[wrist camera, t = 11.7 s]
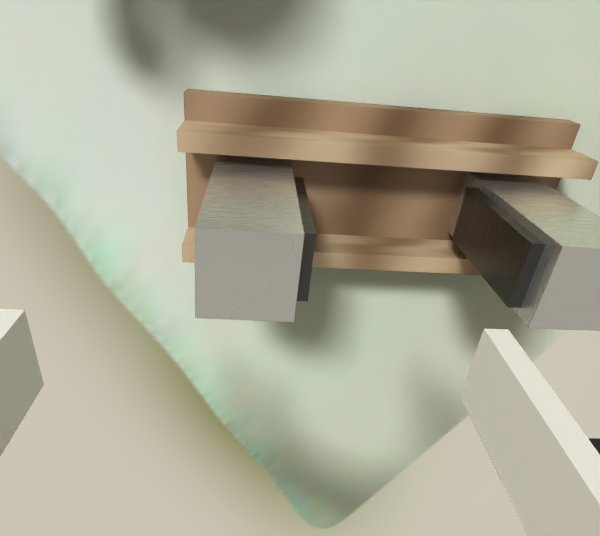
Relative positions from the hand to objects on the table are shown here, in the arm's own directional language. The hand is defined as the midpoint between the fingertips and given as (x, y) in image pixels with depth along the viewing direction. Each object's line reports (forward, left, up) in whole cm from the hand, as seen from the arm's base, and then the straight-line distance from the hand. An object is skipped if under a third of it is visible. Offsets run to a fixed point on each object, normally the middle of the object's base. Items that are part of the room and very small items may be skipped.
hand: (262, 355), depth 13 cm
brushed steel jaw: (+1, 0, -15) cm, 15 cm away
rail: (-7, 0, -16) cm, 17 cm away
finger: (-13, 0, -15) cm, 20 cm away
